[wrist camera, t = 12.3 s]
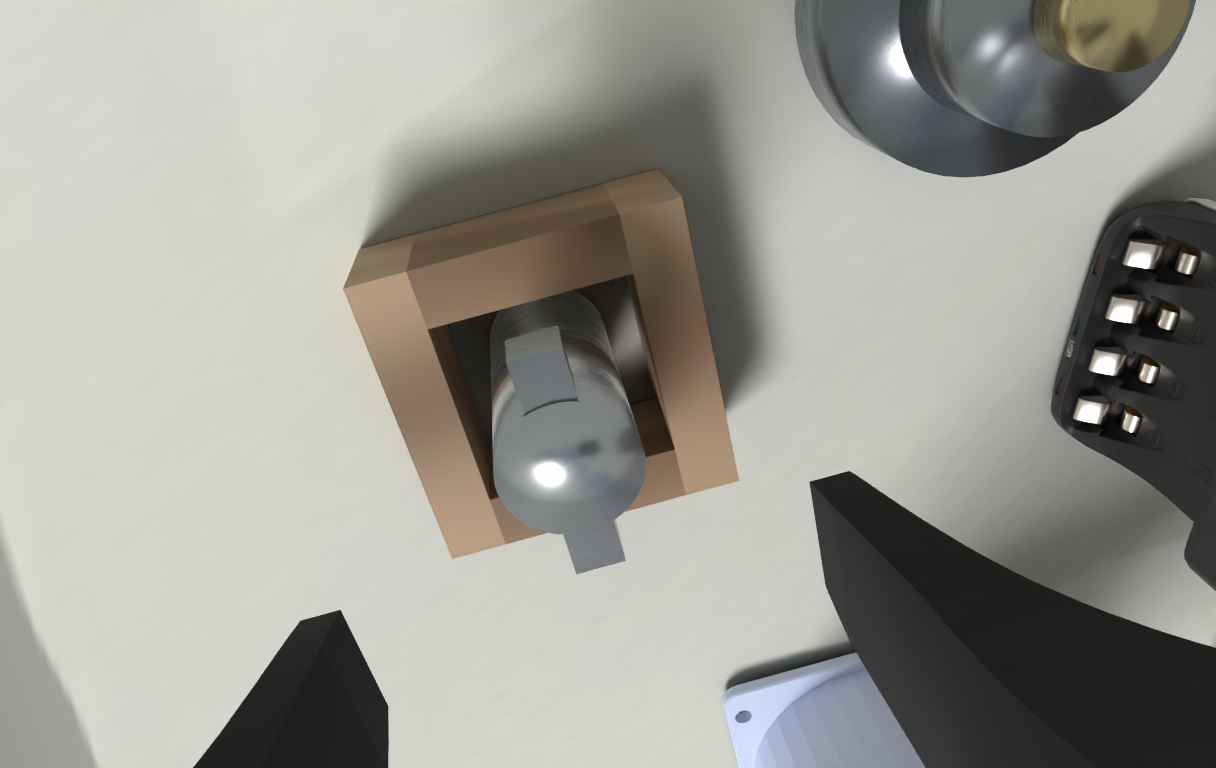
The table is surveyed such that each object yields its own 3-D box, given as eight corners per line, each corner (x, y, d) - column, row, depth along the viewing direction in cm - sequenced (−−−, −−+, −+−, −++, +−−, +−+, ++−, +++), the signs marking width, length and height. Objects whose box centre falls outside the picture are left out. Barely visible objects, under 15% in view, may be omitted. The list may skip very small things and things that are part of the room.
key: (625, 406, 23) (670, 551, 17) (520, 436, 23) (532, 589, 17) (579, 232, 20) (613, 335, 15) (461, 264, 20) (455, 379, 15)
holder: (713, 427, 23) (738, 480, 21) (455, 497, 23) (452, 558, 21) (658, 168, 20) (682, 197, 18) (359, 249, 20) (343, 289, 18)
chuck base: (1103, 113, 21) (1318, 170, 15) (816, 191, 21) (932, 276, 15) (1112, -239, 18) (1389, -321, 12) (772, -148, 17) (900, -191, 12)
